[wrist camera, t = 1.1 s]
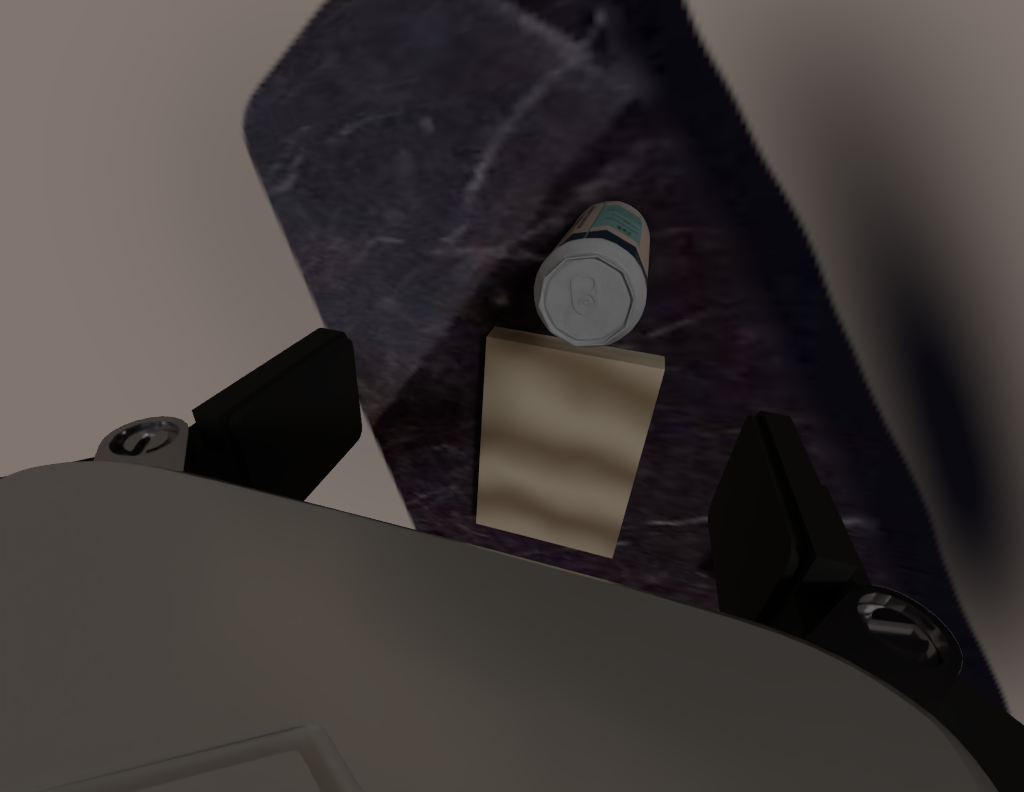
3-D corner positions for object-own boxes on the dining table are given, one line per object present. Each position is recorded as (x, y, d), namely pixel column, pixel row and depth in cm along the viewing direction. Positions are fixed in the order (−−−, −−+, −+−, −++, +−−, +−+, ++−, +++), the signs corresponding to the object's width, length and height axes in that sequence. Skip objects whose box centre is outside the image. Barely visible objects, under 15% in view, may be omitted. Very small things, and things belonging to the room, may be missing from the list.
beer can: (574, 282, 31) (536, 358, 21) (567, 205, 29) (520, 250, 19) (650, 275, 30) (648, 354, 20) (648, 194, 28) (644, 236, 18)
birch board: (613, 540, 42) (612, 558, 40) (483, 507, 44) (476, 523, 42) (664, 356, 32) (664, 369, 31) (494, 326, 34) (486, 336, 33)
